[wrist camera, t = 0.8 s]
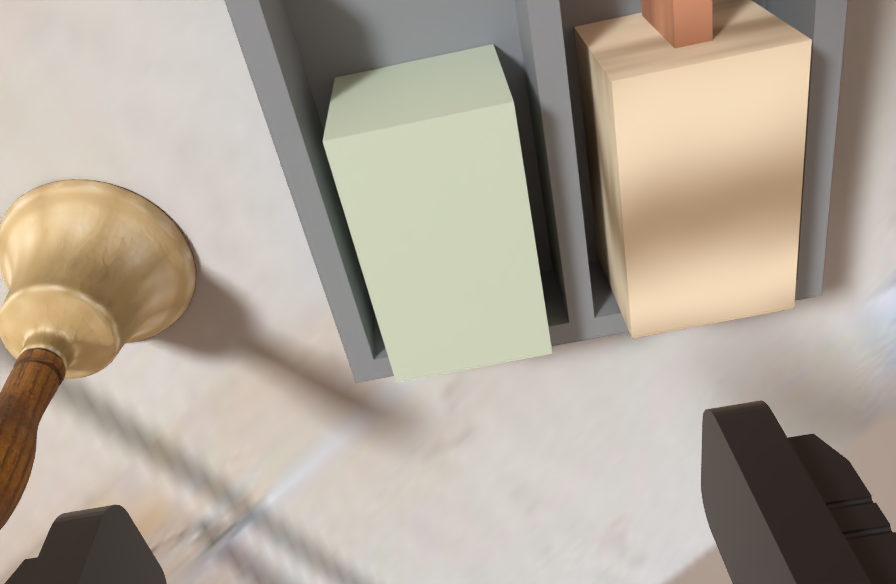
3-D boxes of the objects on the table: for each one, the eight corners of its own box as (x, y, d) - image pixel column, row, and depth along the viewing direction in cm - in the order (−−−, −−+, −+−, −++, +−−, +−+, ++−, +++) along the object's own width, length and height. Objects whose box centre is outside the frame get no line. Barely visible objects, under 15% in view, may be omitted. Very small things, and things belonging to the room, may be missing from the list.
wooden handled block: (535, -355, 23) (574, -388, 18) (743, -405, 22) (844, -455, 17) (597, 255, 34) (632, 338, 29) (735, 228, 34) (794, 308, 29)
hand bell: (179, 177, 33) (32, 459, 19) (209, 337, 37) (107, 653, 24) (-28, 178, 32) (-324, 468, 19) (28, 340, 37) (-178, 665, 23)
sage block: (334, 77, 29) (322, 141, 24) (493, 43, 29) (513, 101, 24) (396, 294, 35) (396, 382, 30) (529, 268, 34) (552, 353, 30)
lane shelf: (246, -50, 28) (218, -17, 24) (786, -172, 27) (861, -160, 22) (360, 310, 37) (355, 383, 32) (769, 231, 36) (821, 295, 31)
